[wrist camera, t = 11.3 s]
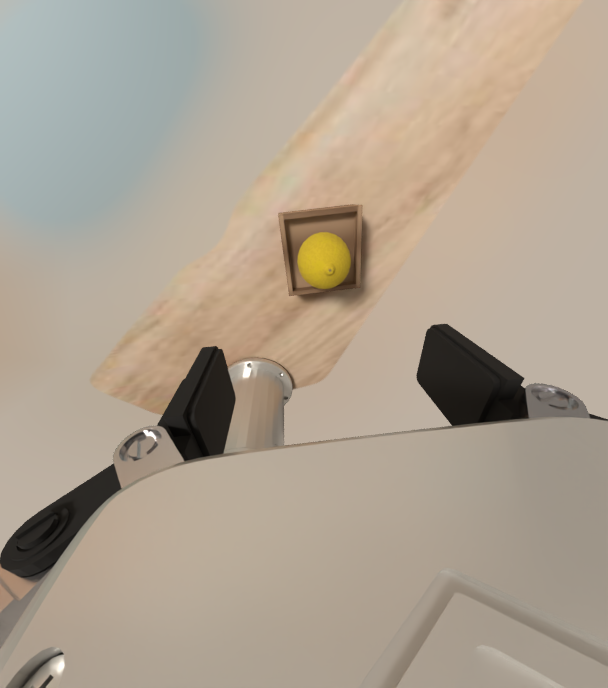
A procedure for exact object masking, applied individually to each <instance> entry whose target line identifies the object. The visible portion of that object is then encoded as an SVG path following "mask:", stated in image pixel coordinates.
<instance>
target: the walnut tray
mask: <svg viewBox="0 0 608 688" xmlns="http://www.w3.org/2000/svg"><path fill="white" fill-rule="evenodd" d="M278 217H279V224H280V232H281V239H282V246H283V254H284V261H285V268H286V276H287V283H288V290H289V296H294V295H302V294H310V293H319V292H327V291H335V290H343V289H352V288H360V270H361V237H362V205H344V206H335V207H327V208H318V209H309V210H301V211H292V212H283V213H279V214H278ZM319 232H329V233H332V234H335V235H337V236H338V237H340V238H341V239H342V240H343V241H344V242H345V243H346V245H347V247H348V249H349V252H350V257H351V265H350V269H349V273H348V274H347V276H346V278H345V279H344V280H343V281H342V282H341V283H340V284H339V285H337V286H335V287H333V288H330V289H319V288H316V287H313V286H311V285H310V284H309V283H307V282H306V281H305V280H304V278H303V277H302V275H301V273H300V271H299V268H298V263H297V261H298V253H299V250H300V247H301V246H302V244H303V242H304V241H305V240H306V239H307V238H308V237H310V236H312V235H313V234H316V233H319Z"/></svg>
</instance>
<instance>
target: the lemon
mask: <svg viewBox="0 0 608 688" xmlns="http://www.w3.org/2000/svg"><path fill="white" fill-rule="evenodd" d="M297 263H298V268H299V271H300V273H301V275H302V277H303V278H304V280H305V281H306V282H307V283H309V284H310V285H311V286H313V287H316V288H319V289H330V288H333V287H335V286H337V285H339V284H340V283H341V282H342V281H343V280H344V279H345V278H346V276H347V274H348V273H349V269H350V265H351V257H350V252H349V249H348V247H347V245H346V243H345V242H344V241H343V240H342V239H341V238H340V237H338V236H337V235H335V234H332V233H329V232H319V233H316V234H313V235H312V236H310V237H308V238H307V239H306V240H305V241H304V242H303V244H302V246H301V247H300V250H299V253H298V261H297Z"/></svg>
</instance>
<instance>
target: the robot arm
mask: <svg viewBox="0 0 608 688" xmlns="http://www.w3.org/2000/svg"><path fill="white" fill-rule="evenodd" d="M523 380H524V378H523V377H522V376H520V375H519V374H517V373H516V372H515V371H513V370H512V369H510V368H509V367H507V366H506V365H505V364H503V363H502V362H500V361H499V360H497V359H496V358H495V357H493V356H492V355H490V354H489V353H487V352H486V351H485V350H483V349H482V348H481V347H479V346H478V345H476V344H475V343H473V342H472V341H471V340H469V339H468V338H466V337H465V336H463V335H462V334H460V333H459V332H458V331H456V330H455V329H453V328H452V327H450V326H449V325H448V324H439V325H433V326H431V328H430V329H428V330H427V332H426V336H425V341H424V345H423V350H422V354H421V359H420V363H419V367H418V371H417V381H418V382H419V384H420V385H421V387H422V388H423V389H424V390H425V392H426V393H427V394H428V396H429V397H430V398H431V399H432V401H433V402H434V403H435V404H436V406H437V407H438V408H439V410H440V411H441V412H442V413H443V415H444V416H445V417H446V418H447V420H448V421H449V422H450V424H451V425H452V426H448V427H439V428H430V429H420V430H411V431H404V432H394V433H385V434H378V435H368V436H360V437H351V438H343V439H334V440H326V441H318V442H310V443H302V444H294V445H285V446H284V405H285V404H286V403H287V402H288V400H289V399H290V397H291V394H292V380H291V378H290V375H289V374H288V372H287V371H286V370H285V369H284V368H283V367H282V366H280V365H279V364H277V363H275V362H273V361H270V360H267V359H263V358H248V359H244V360H240V361H238V362H236V363H234V364H232V365H231V366H229V367H227V364H226V360H225V357H224V353H223V350H222V349H218V347H217V346H213V347H204V348H202V349H201V351H200V353H199V355H198V357H197V358H196V360H195V362H194V364H193V365H192V367H191V369H190V371H189V373H188V374H187V376H186V378H185V379H184V380H183V381H182V382H181V384H180V386H179V388H178V389H177V391H176V393H175V395H174V396H173V398H172V400H171V402H170V403H169V405H168V407H167V409H166V411H165V412H164V414H163V416H162V418H161V420H160V421H159V423H158V425H157V426H148V427H144V428H141V429H139V430H137V431H135V432H133V433H132V434H130V435H129V436H127V437H126V438H125V439H124V440H123V441H122V442H121V443H120V444H119V445H118V447H117V448H116V449H115V452H114V454H113V462H114V464H112V465H111V466H109V467H108V468H106V469H104V470H103V471H101V472H100V473H98V474H97V475H95V476H94V477H92V478H91V479H89V480H87V481H86V482H84V483H83V484H81V485H80V486H78V487H77V488H75V489H74V490H72V491H71V492H69V493H67V494H66V495H64V496H63V497H61V498H60V499H58V500H57V501H55V502H54V503H52V504H50V505H49V506H47V507H46V508H44V509H43V510H41V511H40V512H38V513H37V514H36V515H34V516H33V517H31V518H30V519H29V520H27V521H26V522H25V523H24V524H23V525H22V526H21V527H20V528H19V529H18V530H17V531H16V532H15V533H14V534H13V535H12V537H11V538H10V539H9V540H8V542H7V543H6V545H5V547H4V549H3V550H2V553H1V557H0V688H608V419H604V418H601V417H598V416H595V415H592V414H589V413H588V411H587V409H586V406H585V405H584V403H583V402H582V401H581V400H580V399H579V398H578V397H576V396H575V395H573V394H571V393H570V392H568V391H566V390H563V389H561V388H558V387H555V386H552V385H547V384H539V383H538V384H536V383H534V384H530V385H528V386H526V388H523V387H522V386H521V383H522V382H523Z"/></svg>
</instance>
